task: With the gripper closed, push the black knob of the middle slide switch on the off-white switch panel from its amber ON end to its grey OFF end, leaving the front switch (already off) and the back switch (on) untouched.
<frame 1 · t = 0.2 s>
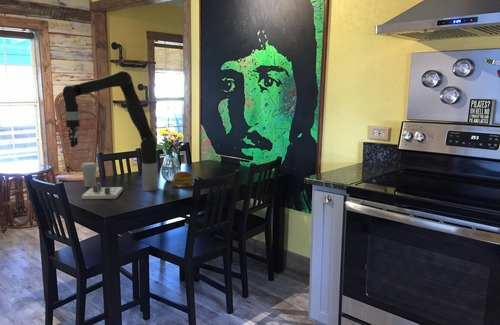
hand: (74, 145, 252), 28 cm above the table, tool pointing down, fingers open, 8 cm apart
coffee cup: (90, 186, 270), on the table
front switch: (107, 189, 243), point 4 cm above the table, slide at 8.0 cm
back switch: (98, 185, 254), point 4 cm above the table, slide at 0.0 cm
middle switch: (95, 187, 248), point 4 cm above the table, slide at 0.0 cm
burger: (182, 187, 271), on the table
switch panel: (103, 194, 249), on the table
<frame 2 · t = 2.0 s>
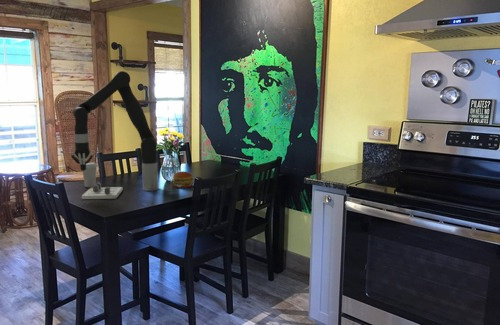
hand: (83, 170, 245), 15 cm above the table, tool pointing down, fingers closed
nothing on the table moved.
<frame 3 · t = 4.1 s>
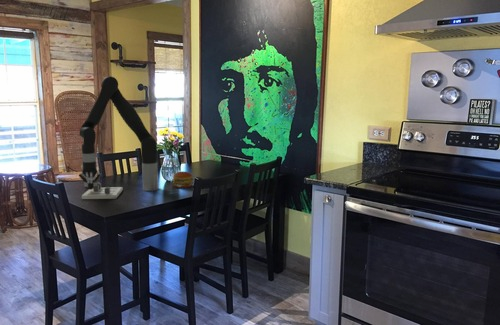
hand: (90, 189, 248), 3 cm above the table, tool pointing down, fingers closed
middle switch: (96, 187, 248), point 4 cm above the table, slide at 0.2 cm, touching gripper
everything else where it was.
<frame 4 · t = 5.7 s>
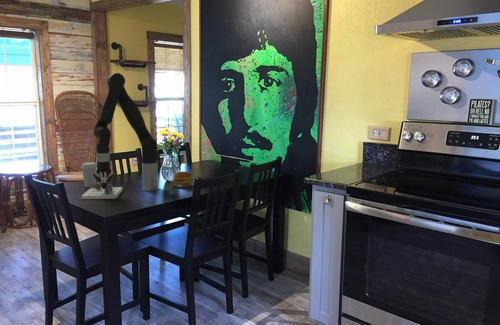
hand: (104, 188, 249), 4 cm above the table, tool pointing down, fingers closed
middle switch: (109, 187, 249), point 4 cm above the table, slide at 8.1 cm, touching gripper
everything else where it was.
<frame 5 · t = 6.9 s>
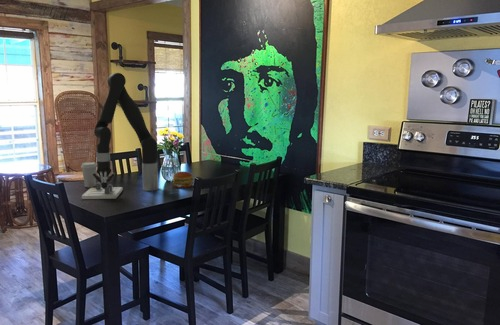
hand: (104, 188, 248), 4 cm above the table, tool pointing down, fingers closed
nothing on the table moved.
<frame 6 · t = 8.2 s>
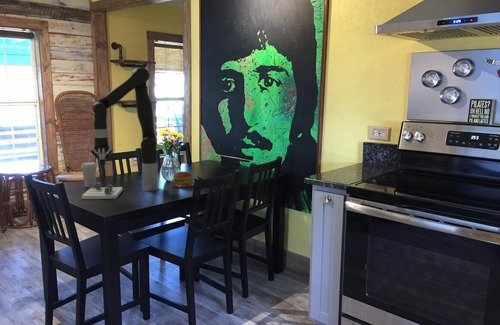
hand: (102, 165, 247), 17 cm above the table, tool pointing down, fingers closed
middle switch: (109, 187, 249), point 4 cm above the table, slide at 8.0 cm
everything else where it was.
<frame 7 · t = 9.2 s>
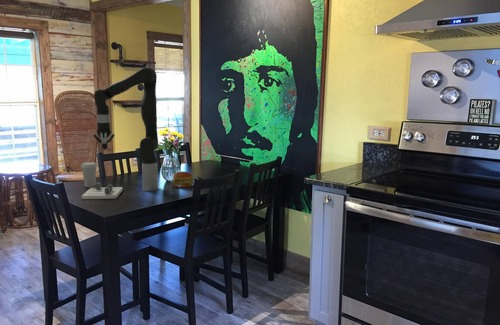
hand: (105, 149, 261), 25 cm above the table, tool pointing down, fingers closed
nothing on the table moved.
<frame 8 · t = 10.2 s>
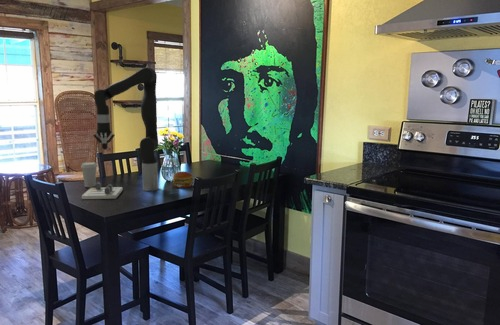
hand: (105, 149, 261), 25 cm above the table, tool pointing down, fingers closed
nothing on the table moved.
at the end: middle switch slide at 8.0 cm; front switch slide at 8.0 cm; back switch slide at 0.0 cm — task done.
